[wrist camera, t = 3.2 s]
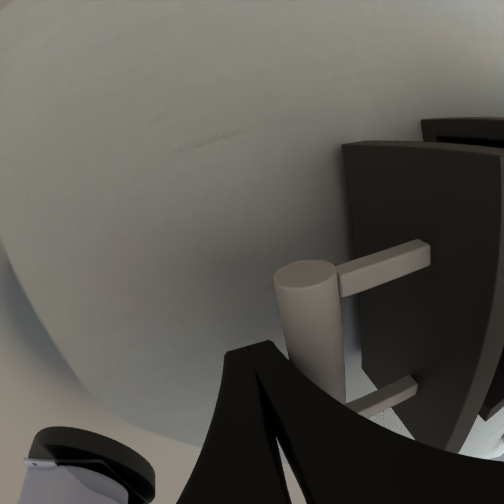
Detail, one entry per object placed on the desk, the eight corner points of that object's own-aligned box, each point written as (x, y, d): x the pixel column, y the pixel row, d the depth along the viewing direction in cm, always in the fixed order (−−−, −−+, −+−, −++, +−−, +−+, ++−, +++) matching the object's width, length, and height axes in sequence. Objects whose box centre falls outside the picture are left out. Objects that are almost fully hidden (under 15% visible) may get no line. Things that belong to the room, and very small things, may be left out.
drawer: (282, 397, 13) (332, 518, 7) (226, 168, 10) (292, 197, 3) (510, 287, 15) (580, 331, 9) (515, 128, 12) (608, 142, 5)
